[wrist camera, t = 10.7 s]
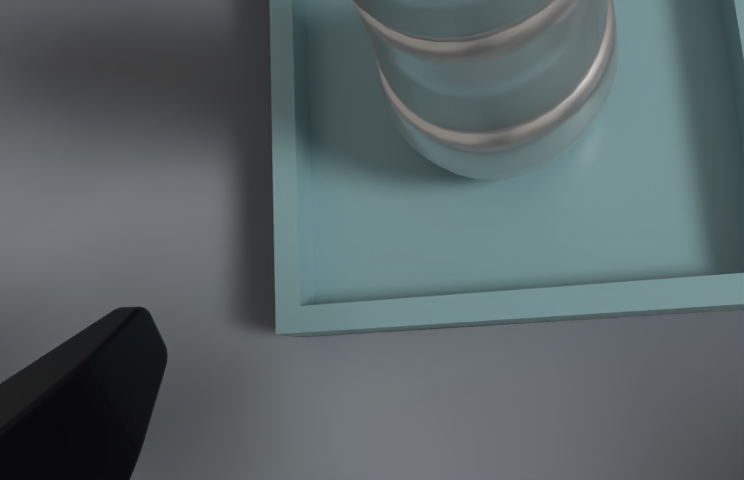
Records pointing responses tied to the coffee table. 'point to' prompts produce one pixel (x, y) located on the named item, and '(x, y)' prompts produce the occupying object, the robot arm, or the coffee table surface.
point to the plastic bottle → (492, 77)
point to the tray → (508, 188)
